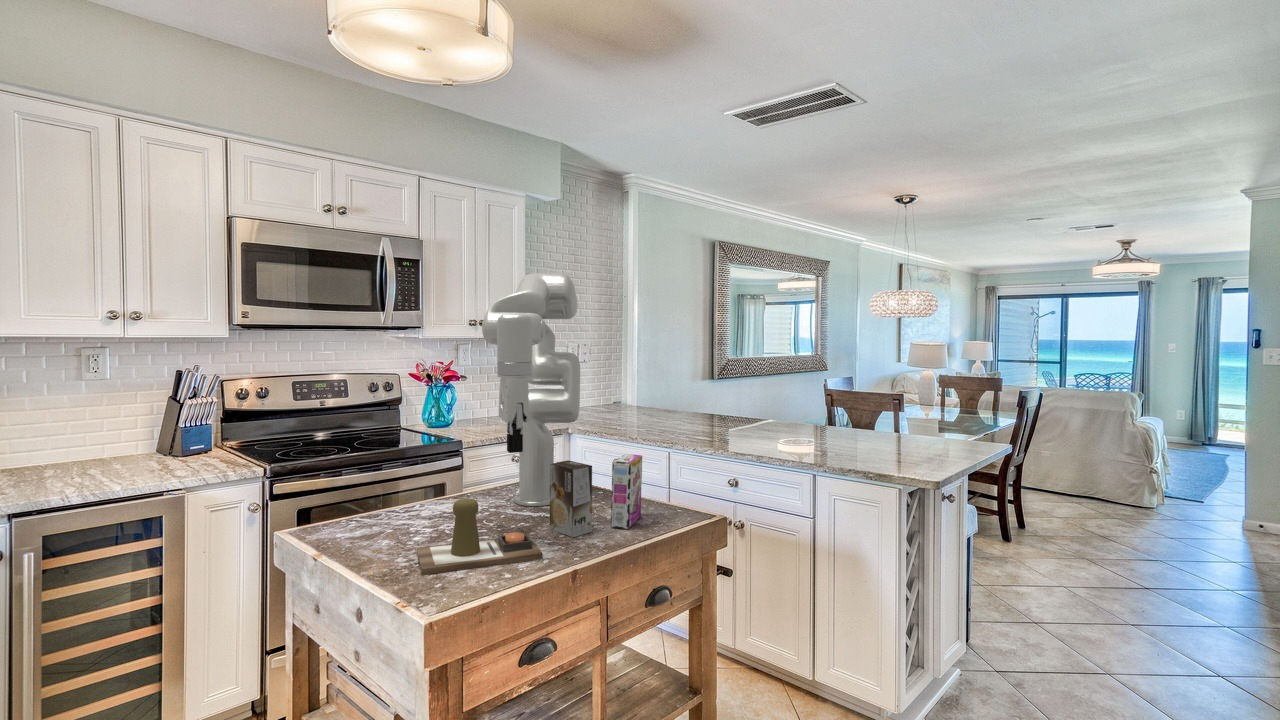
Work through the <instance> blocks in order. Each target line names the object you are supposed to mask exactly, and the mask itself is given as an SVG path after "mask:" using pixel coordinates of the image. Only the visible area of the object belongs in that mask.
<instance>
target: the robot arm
mask: <svg viewBox="0 0 1280 720" xmlns="http://www.w3.org/2000/svg"><path fill="white" fill-rule="evenodd" d="M577 311H578V297H577V293H576V288H575V285H574V283H573V280H572V278H571V277H570V276H569V275H567V274H565V273H557V272H556V273H547V272H533V273H529V274H526V275H524V277H522V278H521V280H520V282H519V284H518V285H517V288H516V291H515V292H514V293H511V294H510V295H507V296H504V297H502V298H500V299H497V300H495V301H494V302H492V303H491V304H490V305H489V307H488V308H487V310H486V312H485V315H484V317H483V320H482V325H481V331H482V336H483V339H484V340H485V342H487V343H488V344H490V345H493V346H494V345H496V346H497V347H496V348H497V350H496V353H497V355H496V356H497V357H496V361H497V363H496V365H497V366H496V368H497V370H496V371H497V372H496V373H497V374H496V375H497V377H498V378H500V379H499V387H498V389H499V391H498V393H499V394H498V417H499V418H500V419H501V420H502V421H503V422H504V423H506V452H508V453H509V454H515V453H517V454H518V453H519V455H518V457H519V459H518V460H519V461H518V463H519V467H518V469H519V470H518V471H519V472H518V474H519V476H518V477H519V479H518V484H519V485H518V486H519V488H518V489H519V491H518V492H519V493H517V494H515V495H514V497H513V502H514V503H515V504H516V505H520V506H526V507H544V506H550V464H553V463H555V461H554V460H555V459H554V458H555V455H554V453H555V451H554V450H555V449H554V448H555V443H554V442H555V441H554V436H553V433H552V432H551V431H550V429H549V428H548V427H547V426H546V424H569V423H570V424H572V423H574V422H576V421H577V420H578V418H579V415H580V410H581V409H580V408H581V407H580V405H581V364H580V359H579V357H578V355H577V354H575V353H574V352H568V351H567V352H565V351H556V336H555V333H554V332H553V331H552V330H551V328H550V327H549V325H548V324H546V322H545V320H571V319H573V318H574V317H575V316H576V314H577V313H578V312H577ZM529 384H530V385H535V386H536V385H537V386H561V387H563V388H529Z"/></svg>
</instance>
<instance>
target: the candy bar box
mask: <svg viewBox="0 0 1280 720" xmlns="http://www.w3.org/2000/svg"><path fill="white" fill-rule="evenodd" d="M611 466H612V467H611V469H612V470H611V474H612V475H611V500H610V501H611V509H610V528H612V529H619V528H620V529H621V530H629V529H630V528H632V526H633V525H634V524H635V523H637V521H638V520H639V519H640V518H641V516H642V512H641V511H642V480H643V477H642V476H643V455H640V454H631V453H629V454H624V455H622V456H620V457H618V458H617V459H615V460H613V461H612V465H611Z"/></svg>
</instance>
